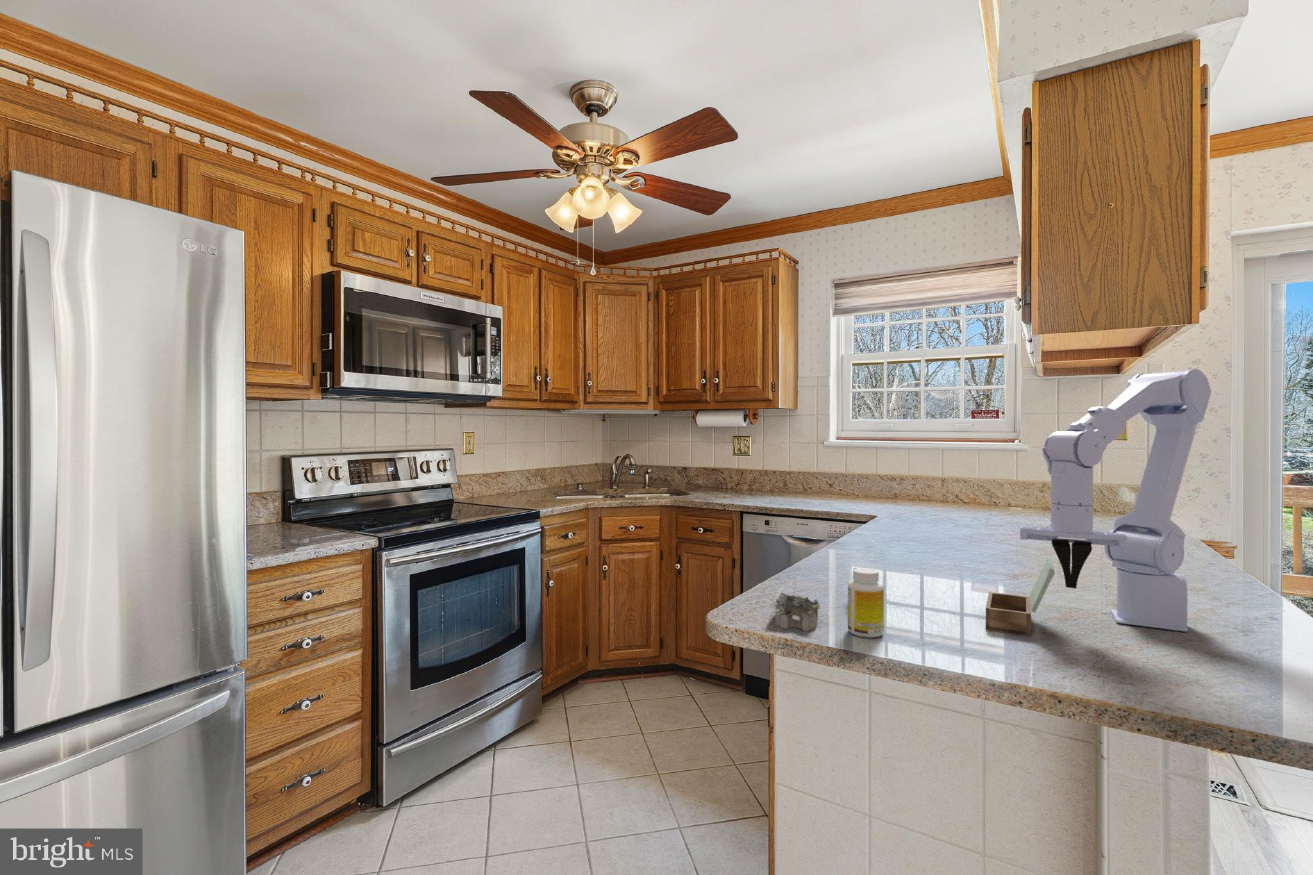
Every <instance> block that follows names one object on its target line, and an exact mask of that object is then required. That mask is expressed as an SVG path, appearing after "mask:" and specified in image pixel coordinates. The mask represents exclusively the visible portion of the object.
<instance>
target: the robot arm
mask: <svg viewBox="0 0 1313 875" xmlns="http://www.w3.org/2000/svg"><path fill="white" fill-rule="evenodd" d="M1126 384H1127V385H1126V389H1125V390H1124V391H1123V392H1122V393H1121V394H1119V396H1117V397H1116V398H1115V399H1114V400H1113V401H1112V402H1111V403H1110V404H1109V405H1108V406H1092V407H1090V408H1089V409H1088V410H1087V413H1086V414H1085V415H1084V416H1083V417H1081V418H1080V419H1078V420H1077V421H1076V422H1072V423H1071V424H1070V425H1069V427H1068V428H1067V429H1065V430H1058V431H1054V432H1053V433H1052V434H1050V435H1049V436H1048V437H1047V438H1046V440H1045V442H1044V446H1043V447H1042V450H1041V451H1042V456H1043V458H1044V460H1045V462H1046V463H1047V464H1046V465H1047V472H1048V475H1050V478H1051V479H1050V527H1038V526H1037V527H1035V526H1032V527H1031V526H1020V527H1019V540H1026V541H1027V540H1032V541H1034V540H1035V541H1043V542H1044V541H1045V542H1051V545H1052V548H1053V550H1054V552H1055V554H1056V556H1057V558H1058V561H1059V563H1060V565H1061V568H1062V572H1063V576H1064V583H1065V584H1064V586H1065V588H1067V589H1077V585H1078V580H1079V577H1080V573H1081V572H1082V569H1083V567H1084V565H1085V562H1086V561H1087V559H1088V558H1089V556H1090V555H1091V552H1092V550H1093V547H1092V545H1098V546H1099V545H1100V546H1103V548H1104V552H1105V555H1106V557H1107V558H1108V560H1110V561H1111V562H1112V567H1115V568H1116V609H1114V608H1113V609H1111V610H1110V612H1111V614H1112V616H1113V618H1114V621H1116V623H1118V624H1123V625H1124V624H1126V625H1133V626H1140V627H1149V628H1156V629H1162V630H1172V631H1177V632H1179V631H1180V632H1186V633H1187V632H1188V631H1189V628H1188V598H1189V597H1188V585H1187V579H1186V577H1185V575H1184V574H1182V573H1175V572H1176V571H1177V570H1178V569H1179V568H1180V567H1181V566H1182V564H1183V562H1184V559H1185V546H1184V545H1185V538H1186V534H1185V532H1184V531H1183V530H1182V528H1180V527H1179V525H1177V524H1176V523H1175V522H1174V521H1172V519H1171V518H1172V514H1173V511H1174V507H1175V504H1176V500H1177V497H1178V494H1179V490H1180V487H1181V484H1182V481H1183V480H1182V479H1183V477H1184V472H1185V470H1186V466H1187V462H1188V460H1189V456H1190V452H1191V448H1192V445H1193V442H1194V437H1195V434H1196V431H1197V428H1198V427H1197V426H1198V424H1200V423H1202V422H1203V421H1204V418H1205V415H1206V411H1207V409H1208V405H1209V401H1210V399H1211V394H1212V389H1211V386H1210V382H1209V379H1208V378H1207V376H1206V375H1205V373H1204V372H1203V371H1202V370H1200V369H1198V368H1193V369H1192V368H1191V369H1188V370H1177V371H1165V372H1154V373H1153V372H1152V373H1143V372H1142V373H1138V374H1136V375H1134V376H1133V377H1132V378H1130V379H1128V380H1127V383H1126ZM1138 414H1140V415H1141V417H1142V418H1143V420H1144V421H1145V422H1146V423H1148V424H1150V425H1153V426H1154V427H1155V429H1156V431H1155V435H1154V437H1153V441H1152V443H1151V444H1152V445H1151V448H1150V452H1149V455H1148V458H1147V462H1146V464H1145V468H1144V472H1143V475H1142V479H1141V481H1140V485H1139V487H1138V488H1139V489H1138V492H1137V495H1136V498H1135V502H1134V506H1133V509H1132V510H1131V511H1129V512H1128V513H1126V514H1124V515H1121V516H1119V517H1118V518H1116V519H1115V520H1114V524H1113V527H1112V528H1111V530H1110V531H1099V530H1098V531H1097V530H1094V529H1093V528H1094V527H1093V521H1094V506H1093V505H1094V502H1093V501H1094V495H1093V494H1094V466H1096V465H1098V464H1100V463H1101V460H1102V459H1103V455H1104V452H1105V451H1106V450H1107V447H1108V446H1109V445H1110V444H1111V443H1112V442H1113V441H1115V440H1116V439H1117V438H1118V437H1120V436H1121V435H1122V434H1123V433H1125V431H1126V427H1127V426H1126V422H1127V421H1130V419H1132V418H1134V417H1136V416H1137V415H1138Z"/></svg>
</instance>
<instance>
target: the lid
mask: <svg viewBox="0 0 1313 875" xmlns="http://www.w3.org/2000/svg"><path fill="white" fill-rule="evenodd" d="M1055 574H1056V573H1055V568H1054V564H1053V560H1052V558H1050V557H1046V559H1045V562H1044V564H1043V566H1042V567H1041V570H1040V571H1039V574H1038V576H1037V578H1036V581H1035V582H1034V584H1033V586H1032V588H1031V590H1030V593H1029V597H1030V608H1031V612H1032V613H1034V614H1035V613H1036V611H1037V610H1038V608H1039V606H1040V603H1041V602H1042V600H1043V597H1044V596H1045V594H1046V591H1047V589H1048V587H1049V585H1050V583H1051V581H1052V580H1053V578H1054V576H1055Z"/></svg>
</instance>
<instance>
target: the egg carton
mask: <svg viewBox="0 0 1313 875" xmlns="http://www.w3.org/2000/svg"><path fill="white" fill-rule="evenodd" d="M779 594H780V595H779V596H778V597H777V598H776V600H775V602H774V604H773V605H772V607H771V608H772V609H773V611H774V613H775V615H774V616H775V617H774V625H775V626H777V627H780V628H782V629H789V628H797V629H801V630H802V631H807V632H808V631H810V630H816V629H817V624H818V618H819V609H821V605H820V603H819V600H817V599H814V600H813V601H812V600H810V599H809V597H808V596H806V597H803V596H799V595H794V594H792V595H789V594H787V593H784V592H781V593H779ZM789 612H790V613H789ZM786 613H789V614H787V615H786Z"/></svg>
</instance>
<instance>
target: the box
mask: <svg viewBox="0 0 1313 875" xmlns="http://www.w3.org/2000/svg"><path fill="white" fill-rule="evenodd" d="M1031 612H1032V611H1031V602H1030V596H1029V595H1028V596H1027V595H1026V596H1025V595H1020V594H1019V595H1018V594H1012V593H1011V594H1010V593H1009V594H1008V593H1000V592H993V591H988V595H987V600H986V606H985V630H987V631H992V632H999V633H1007V634H1011V635H1019V636H1027V637H1031V636H1032V634H1031V632H1032V631H1031V629H1032V626H1031V624H1032V621H1031V620H1032V618H1031V617H1032V613H1031Z"/></svg>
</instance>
